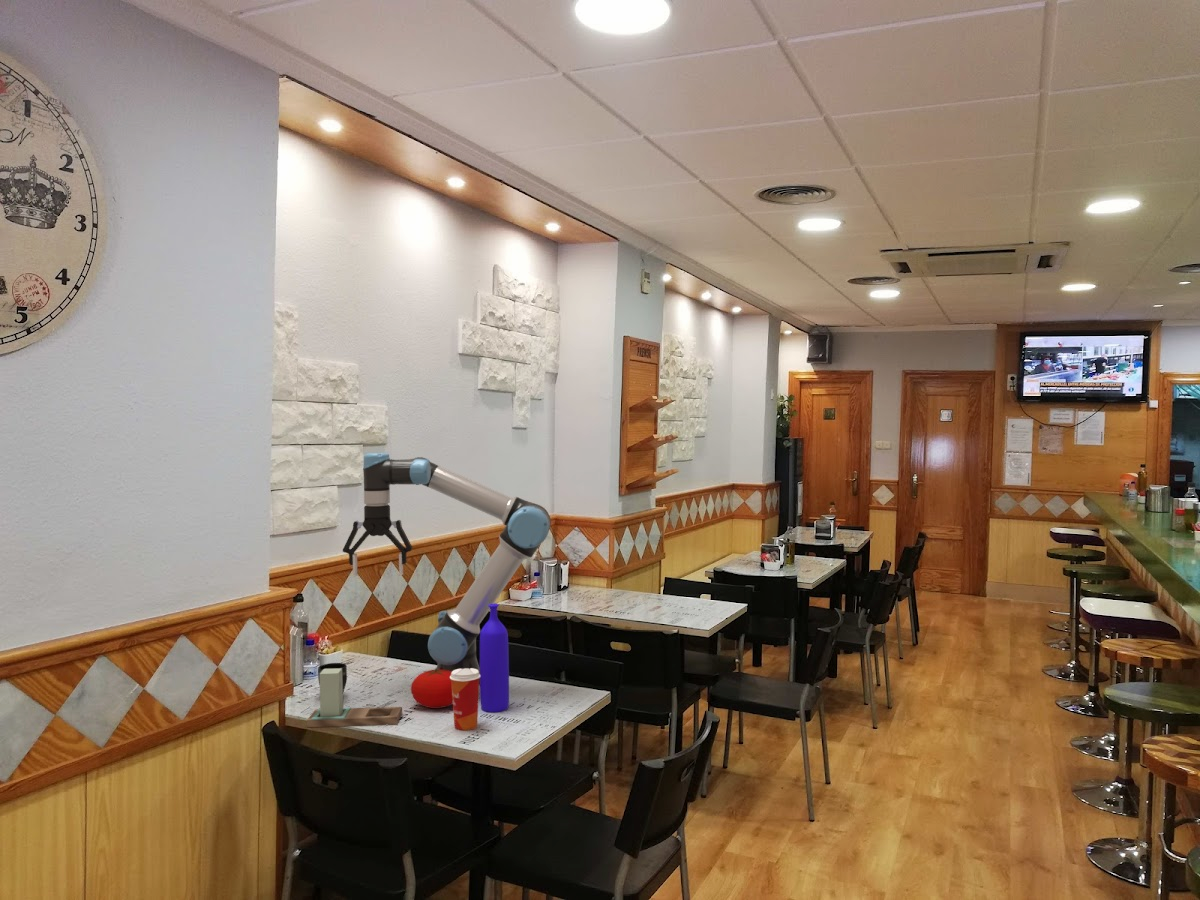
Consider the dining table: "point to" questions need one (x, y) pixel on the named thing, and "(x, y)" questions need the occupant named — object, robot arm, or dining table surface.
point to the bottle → (494, 664)
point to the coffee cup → (465, 697)
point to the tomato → (433, 688)
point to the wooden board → (357, 717)
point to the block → (331, 693)
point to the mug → (332, 666)
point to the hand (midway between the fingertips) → (378, 575)
